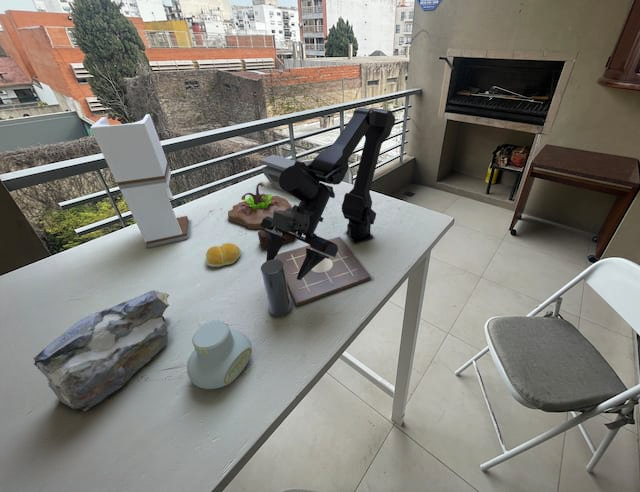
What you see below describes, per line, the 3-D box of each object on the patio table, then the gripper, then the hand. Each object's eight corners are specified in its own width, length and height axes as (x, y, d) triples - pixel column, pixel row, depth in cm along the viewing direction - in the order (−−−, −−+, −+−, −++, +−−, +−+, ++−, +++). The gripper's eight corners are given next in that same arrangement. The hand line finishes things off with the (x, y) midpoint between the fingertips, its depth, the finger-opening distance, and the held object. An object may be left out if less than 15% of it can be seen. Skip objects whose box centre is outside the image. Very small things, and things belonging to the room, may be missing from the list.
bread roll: (243, 262, 80) (240, 250, 77) (208, 271, 76) (204, 260, 74) (239, 245, 86) (236, 235, 84) (206, 254, 82) (202, 243, 80)
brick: (263, 250, 84) (260, 237, 81) (259, 243, 87) (257, 231, 84) (297, 239, 89) (295, 227, 86) (292, 233, 92) (291, 221, 89)
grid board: (339, 239, 89) (339, 236, 89) (370, 279, 74) (370, 276, 74) (276, 257, 81) (275, 254, 81) (296, 306, 67) (296, 302, 66)
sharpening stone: (263, 183, 123) (258, 159, 117) (276, 177, 128) (273, 154, 123) (306, 199, 111) (303, 173, 106) (319, 192, 117) (317, 167, 111)
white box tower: (188, 238, 88) (144, 123, 70) (148, 247, 84) (89, 127, 66) (188, 220, 97) (149, 114, 78) (152, 228, 93) (102, 117, 74)
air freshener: (219, 403, 49) (202, 371, 43) (184, 384, 51) (164, 351, 46) (261, 350, 57) (251, 317, 52) (229, 335, 60) (217, 303, 54)
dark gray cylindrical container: (287, 298, 69) (280, 256, 62) (293, 312, 65) (286, 269, 58) (268, 305, 67) (258, 263, 60) (273, 319, 63) (263, 276, 56)
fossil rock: (167, 329, 65) (159, 275, 59) (194, 348, 62) (189, 293, 56) (44, 402, 48) (16, 336, 42) (74, 435, 44) (48, 368, 39)
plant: (301, 208, 105) (298, 181, 99) (261, 234, 91) (254, 204, 85) (263, 195, 114) (258, 169, 108) (221, 217, 99) (212, 188, 93)
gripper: (259, 184, 62) (227, 250, 59) (327, 207, 53) (293, 285, 51) (288, 201, 71) (262, 259, 69) (350, 223, 63) (322, 289, 61)
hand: (282, 271), depth 63 cm, fingers open, 9 cm apart
